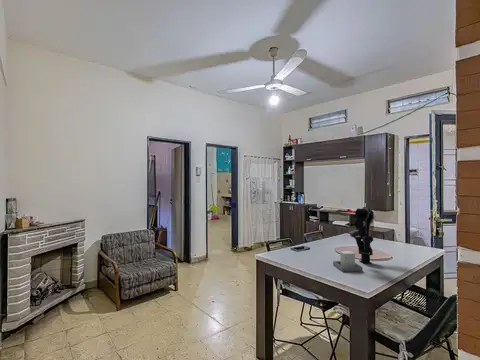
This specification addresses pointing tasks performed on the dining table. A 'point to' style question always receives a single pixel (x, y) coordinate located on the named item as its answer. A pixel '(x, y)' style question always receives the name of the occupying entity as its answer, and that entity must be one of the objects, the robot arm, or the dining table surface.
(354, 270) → the charcoal tray
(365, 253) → the robot arm
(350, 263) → the small box
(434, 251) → the dining table surface
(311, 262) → the dining table surface
